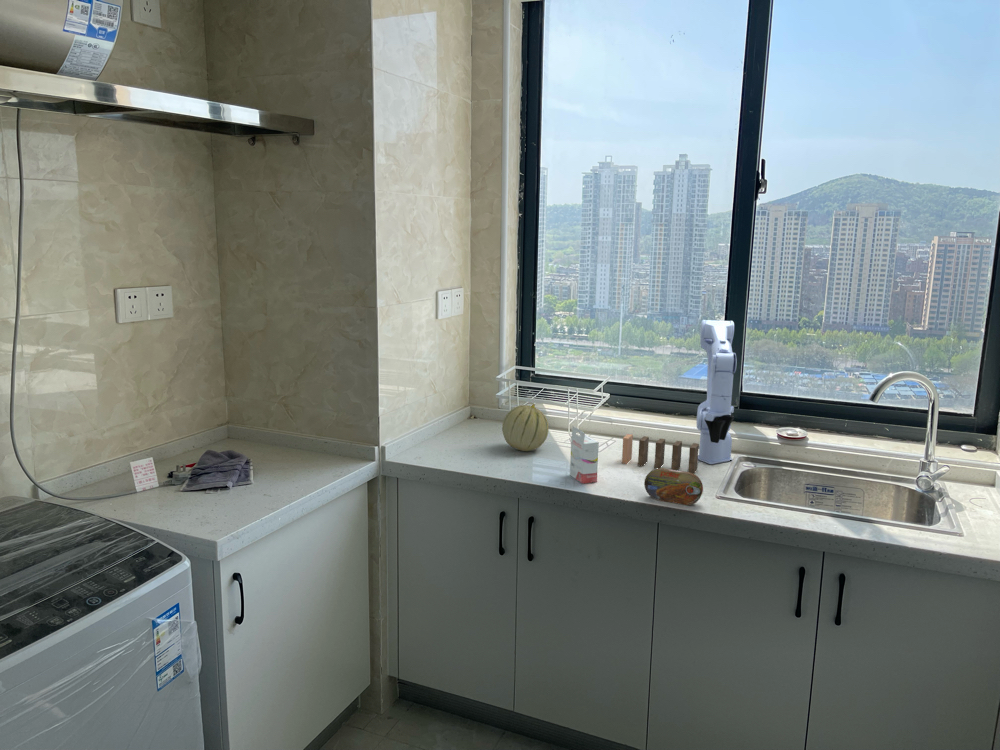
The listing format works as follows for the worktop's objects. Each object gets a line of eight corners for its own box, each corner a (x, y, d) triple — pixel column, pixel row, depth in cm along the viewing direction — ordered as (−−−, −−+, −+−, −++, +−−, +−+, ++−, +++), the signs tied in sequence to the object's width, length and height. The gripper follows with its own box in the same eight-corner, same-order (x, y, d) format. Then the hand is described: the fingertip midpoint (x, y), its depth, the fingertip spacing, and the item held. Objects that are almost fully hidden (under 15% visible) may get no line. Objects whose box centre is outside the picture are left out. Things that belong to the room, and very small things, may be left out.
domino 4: (680, 467, 221) (682, 441, 219) (676, 471, 216) (678, 445, 215) (675, 466, 221) (676, 440, 220) (671, 470, 217) (672, 444, 215)
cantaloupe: (492, 450, 235) (493, 404, 232) (521, 440, 245) (522, 397, 242) (528, 460, 225) (529, 412, 222) (557, 449, 236) (558, 404, 233)
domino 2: (647, 462, 225) (648, 436, 223) (643, 466, 221) (644, 440, 219) (642, 461, 226) (643, 436, 224) (637, 465, 221) (639, 440, 220)
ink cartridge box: (598, 482, 206) (600, 431, 203) (582, 484, 204) (584, 433, 201) (584, 473, 214) (586, 424, 211) (568, 474, 212) (570, 425, 209)
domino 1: (631, 459, 227) (632, 434, 226) (626, 464, 223) (628, 438, 221) (626, 458, 228) (627, 433, 226) (621, 463, 223) (623, 437, 222)
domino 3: (663, 464, 223) (665, 439, 221) (659, 469, 218) (661, 443, 217) (658, 463, 224) (660, 438, 222) (654, 468, 219) (655, 442, 218)
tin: (643, 497, 195) (644, 467, 193) (646, 494, 198) (648, 464, 196) (700, 508, 188) (702, 476, 186) (703, 504, 191) (705, 473, 189)
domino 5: (697, 469, 218) (698, 443, 217) (693, 474, 214) (695, 448, 213) (691, 468, 219) (693, 443, 218) (687, 473, 215) (689, 447, 213)
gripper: (719, 389, 217) (715, 433, 220) (696, 396, 206) (693, 443, 209) (742, 392, 213) (738, 437, 215) (720, 400, 202) (716, 447, 204)
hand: (717, 440), depth 212 cm, fingers open, 4 cm apart
